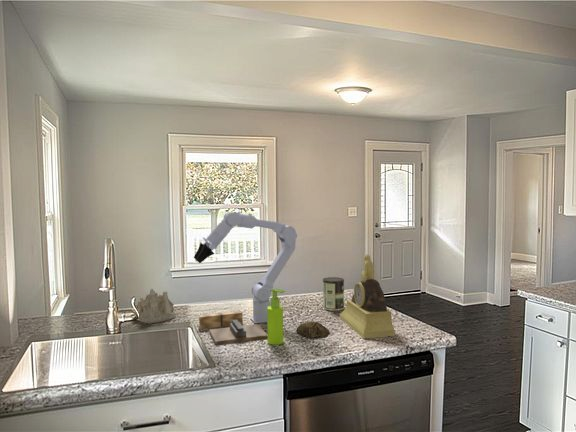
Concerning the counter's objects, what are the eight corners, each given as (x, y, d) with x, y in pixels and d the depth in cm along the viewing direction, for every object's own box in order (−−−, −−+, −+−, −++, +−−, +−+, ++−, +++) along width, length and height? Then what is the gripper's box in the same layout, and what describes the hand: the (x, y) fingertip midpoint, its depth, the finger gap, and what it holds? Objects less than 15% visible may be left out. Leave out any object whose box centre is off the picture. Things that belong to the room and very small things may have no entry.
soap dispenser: (280, 346, 157) (279, 292, 156) (264, 342, 161) (263, 289, 160) (288, 341, 162) (287, 288, 161) (273, 338, 166) (272, 286, 165)
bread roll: (293, 331, 175) (292, 319, 175) (320, 327, 180) (320, 315, 180) (306, 340, 163) (306, 328, 163) (335, 336, 168) (335, 323, 168)
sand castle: (179, 317, 195) (176, 285, 194) (142, 326, 185) (139, 291, 185) (167, 312, 208) (164, 281, 207) (132, 320, 198) (129, 287, 198)
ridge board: (257, 326, 180) (257, 316, 180) (267, 338, 166) (267, 326, 166) (209, 332, 174) (209, 321, 174) (215, 344, 160) (215, 332, 159)
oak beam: (241, 322, 187) (240, 310, 187) (242, 324, 184) (242, 312, 184) (199, 327, 181) (198, 315, 181) (200, 329, 179) (199, 317, 178)
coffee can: (343, 305, 214) (342, 276, 213) (345, 310, 203) (345, 281, 202) (322, 305, 214) (321, 277, 213) (323, 311, 203) (323, 281, 203)
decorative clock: (339, 318, 192) (339, 251, 190) (366, 316, 194) (366, 250, 193) (363, 339, 164) (363, 260, 163) (394, 336, 167) (394, 259, 165)
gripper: (208, 228, 187) (187, 252, 185) (213, 230, 174) (191, 256, 171) (220, 238, 189) (199, 262, 187) (226, 241, 176) (204, 267, 173)
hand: (196, 260), depth 179 cm, fingers open, 7 cm apart
